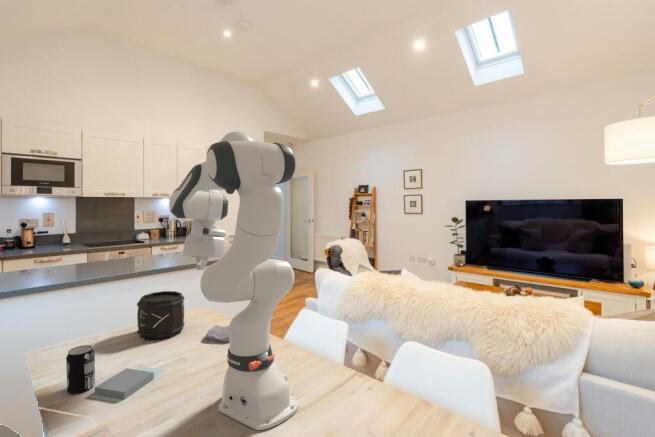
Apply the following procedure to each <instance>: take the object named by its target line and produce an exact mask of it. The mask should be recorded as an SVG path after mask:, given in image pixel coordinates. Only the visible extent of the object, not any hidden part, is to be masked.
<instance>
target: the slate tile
mask: <svg viewBox="0 0 655 437" xmlns="http://www.w3.org/2000/svg"><path fill="white" fill-rule="evenodd" d="M151 380H152V381H154V372H148V371H141V370H135V369H133V368H127V367H126V368H125V369H123V370H121V371H119V372H118V373H116V374H115V375H113V376H111V377H109V378H108V379H106V380H104V381H103V382H101V383H100V384H98V385H96V386H94V395H95V394H97V395H102V396H108V397H114V398H120V399H125V400H127V399H128V398H129V397H131V396H132V395H134V394H135V393H137V392H138V391H139V390H141V389H142V388H144V387H145V386H147V383H148V382H149V383H151V382H152V381H151ZM150 381H151V382H150ZM149 383H148V384H149ZM144 385H145V386H144ZM141 387H142V388H141ZM140 388H141V389H140ZM138 389H139V390H138ZM137 390H138V391H137ZM134 392H135V393H134ZM131 394H132V395H131ZM130 395H131V396H130ZM128 396H129V397H128ZM127 397H128V398H127Z"/></svg>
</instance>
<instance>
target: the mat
mask: <svg viewBox="0 0 655 437" xmlns="http://www.w3.org/2000/svg"><path fill="white" fill-rule="evenodd" d="M134 370H141V371H148V372H154V379H156V378H158V377H159V376H161V375H162V374H164V373H165V372H167V369H163V368H162V369H161V368H155V367H149V366H148V367H147V366H139V367H137V368H136V369H134ZM154 379H153V380H154ZM153 380H151V381H150V382H148V383H147V384H149V383H151V382H152V381H153ZM147 384H146V385H147ZM146 385H144V386H143V387H145V386H146ZM143 387H141V388H140V389H138V390H137V391H136V392H138V391H139V390H141V389H142V388H143ZM136 392H134V393H133V394H135V393H136ZM133 394H131V395H130V396H128V397H127V398H126V399H128V398H129V397H131V396H132V395H133ZM90 398H92V399H97V400H103V401H108V402H113V403H115V402H116V403H122V402H123V401H125V400H126V399H120V398H114V397H108V396H102V395H97V394H95V393H94V394H93V395H92V396H90Z"/></svg>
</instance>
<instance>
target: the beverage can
mask: <svg viewBox="0 0 655 437" xmlns="http://www.w3.org/2000/svg"><path fill="white" fill-rule="evenodd" d="M95 352H96V351H95V350H94V348H93V345H89V344H86V345H79V346H75V347H73V348H70V349H69V350H68V351H67V356H66V357H65V360H66V389H67V390H66V392H67V393H68V394H70V395H79V394H83V393H86V392H88V391H90V390H91V389H94V387H95V385H96V363H95V362H96V357H95V356H96V355H95Z"/></svg>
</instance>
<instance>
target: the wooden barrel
mask: <svg viewBox="0 0 655 437" xmlns="http://www.w3.org/2000/svg"><path fill="white" fill-rule="evenodd" d="M184 301H185V296H184V295H183V293H181V292H178V291H176V290H175V291H171V290H170V291H169V290H167V291H166V290H164V291H158V292H157V291H155V292H150V293H148V294H145V295H142V296H141V298H140V299H139V301H137V303H136V306H137V317H136V318H137V322H136V323H137V328H138V330H137V331H136V333H137V334H138V335H139V337H140V338H141V339H143V340H144V341H162V340H166V339H171V338H174V337H176V336H177V335H178V336H179V335H180V334H181V333H182V330H183V329H184V326H185V324H186V323H185V322H184V320H185V302H184Z"/></svg>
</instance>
